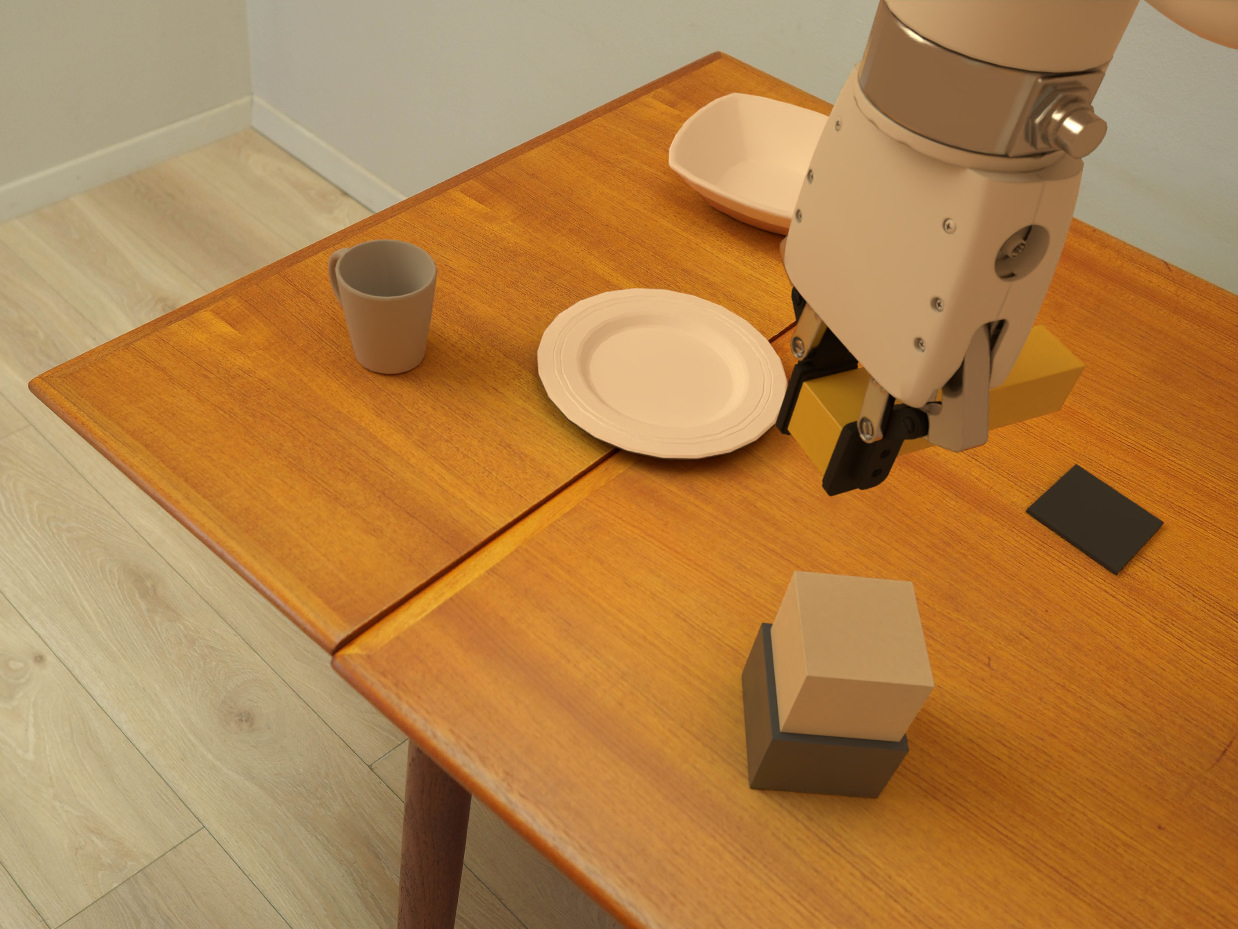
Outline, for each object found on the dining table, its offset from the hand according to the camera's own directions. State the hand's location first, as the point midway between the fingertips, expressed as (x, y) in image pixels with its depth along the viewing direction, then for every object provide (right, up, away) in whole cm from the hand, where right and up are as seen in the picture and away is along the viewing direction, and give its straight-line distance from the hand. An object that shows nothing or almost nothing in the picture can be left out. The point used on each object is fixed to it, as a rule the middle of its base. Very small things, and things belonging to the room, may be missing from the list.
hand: (829, 451), depth 48 cm
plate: (-6, +6, +40) cm, 41 cm away
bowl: (+6, +27, +62) cm, 68 cm away
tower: (+2, -18, +19) cm, 26 cm away
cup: (-29, +9, +39) cm, 49 cm away
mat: (+28, -5, +35) cm, 45 cm away
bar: (+5, +1, +2) cm, 6 cm away
